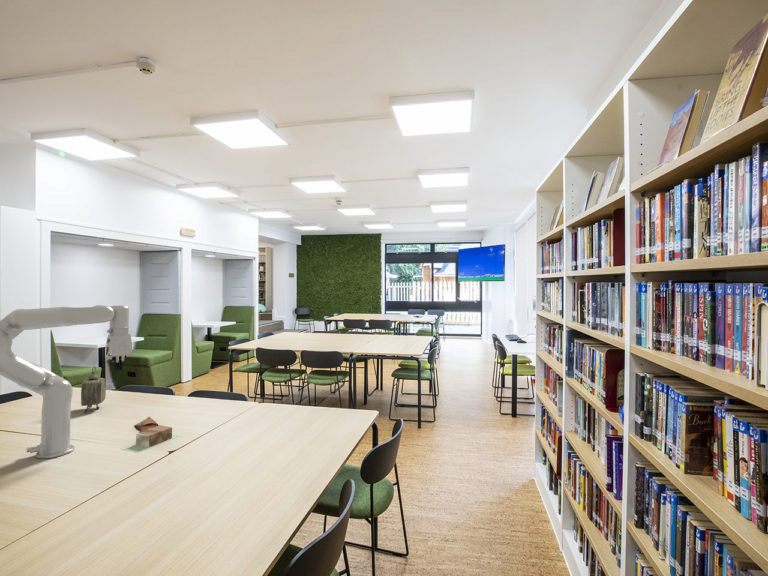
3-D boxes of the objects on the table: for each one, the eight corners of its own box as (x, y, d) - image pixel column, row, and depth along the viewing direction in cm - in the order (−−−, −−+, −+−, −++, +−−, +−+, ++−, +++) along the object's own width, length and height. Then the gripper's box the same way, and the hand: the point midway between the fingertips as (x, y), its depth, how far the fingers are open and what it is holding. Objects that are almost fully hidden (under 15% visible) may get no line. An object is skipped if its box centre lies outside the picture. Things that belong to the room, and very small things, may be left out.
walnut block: (148, 435, 174) (172, 427, 185) (136, 433, 177) (160, 425, 188) (148, 447, 174) (171, 438, 185) (135, 444, 177) (159, 435, 188)
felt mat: (137, 453, 168) (137, 452, 168) (120, 449, 172) (120, 448, 172) (181, 436, 188) (181, 435, 188) (164, 433, 192) (164, 432, 192)
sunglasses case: (132, 425, 202) (140, 413, 204) (145, 429, 206) (153, 417, 208) (141, 435, 189) (150, 421, 192) (155, 439, 193) (163, 426, 196)
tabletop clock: (87, 407, 232) (88, 364, 233) (105, 405, 236) (106, 364, 236) (80, 414, 219) (81, 369, 219) (100, 412, 223) (101, 368, 223)
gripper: (108, 333, 177) (107, 373, 177) (139, 330, 191) (138, 368, 191) (97, 332, 180) (96, 372, 180) (129, 329, 194) (128, 366, 194)
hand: (118, 370), depth 185 cm, fingers closed
